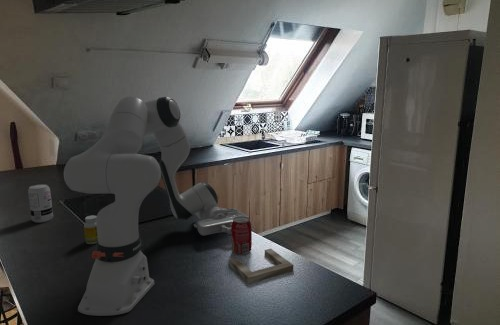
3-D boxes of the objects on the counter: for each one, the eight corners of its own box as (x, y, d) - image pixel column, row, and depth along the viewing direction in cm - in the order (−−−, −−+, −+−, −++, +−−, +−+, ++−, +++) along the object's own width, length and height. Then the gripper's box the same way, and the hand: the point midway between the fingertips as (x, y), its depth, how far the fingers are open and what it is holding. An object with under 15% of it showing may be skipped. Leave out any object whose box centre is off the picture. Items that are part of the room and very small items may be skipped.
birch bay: (293, 270, 117) (293, 264, 116) (248, 283, 109) (248, 277, 109) (270, 253, 129) (270, 248, 128) (228, 264, 121) (228, 258, 121)
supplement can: (32, 218, 163) (27, 185, 160) (53, 215, 167) (49, 183, 164) (31, 224, 156) (26, 190, 153) (53, 221, 160) (49, 187, 157)
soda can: (240, 245, 135) (240, 214, 133) (255, 250, 131) (255, 218, 128) (227, 252, 130) (226, 219, 127) (242, 258, 126) (242, 224, 123)
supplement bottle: (88, 238, 142) (86, 214, 140) (103, 238, 142) (100, 214, 140) (83, 244, 137) (80, 219, 135) (98, 244, 137) (95, 219, 135)
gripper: (191, 216, 142) (205, 228, 130) (239, 207, 152) (256, 218, 140) (192, 231, 143) (205, 244, 131) (239, 222, 153) (256, 233, 141)
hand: (232, 231), depth 136 cm, fingers closed
